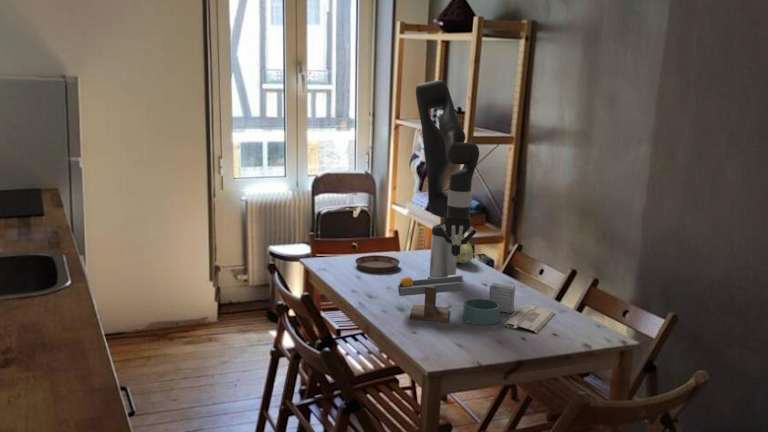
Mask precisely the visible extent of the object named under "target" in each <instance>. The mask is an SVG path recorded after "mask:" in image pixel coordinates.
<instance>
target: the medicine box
mask: <svg viewBox="0 0 768 432" xmlns="http://www.w3.org/2000/svg"><path fill="white" fill-rule="evenodd" d="M515 294H516V285H513V284H506V283H499V282H492V283H491V285H490V286H489V295H488V299H490V300H492V301H495V302H498V303H499V305H500V313H504V312H507V313H506V314H513V313H514V311H515V310H514V309H515V308H514V307H515Z"/></svg>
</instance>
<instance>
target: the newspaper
mask: <svg viewBox="0 0 768 432" xmlns="http://www.w3.org/2000/svg"><path fill="white" fill-rule="evenodd" d="M554 314H555V315H556V312H554V311H553V310H550V309H547V308H543V307H540V306H537V305H536V306H535V305H531V304H525V305H524V306H521V305H519V306H518V307H517V308H516V309H515V310H514V311H513V312H512V313H511V315H510V316H509V317H508V319H509V320H508V319H507V320H508V321H506V322H505V323H504V324H503V327H505V326H507V327H506V328H510V327H511V328H510V329H513V327H514V325H516V326H519V327H520V328H522V329H523V328H524V329H527V330H530V331H533V332H534V333H535V334H538V333H539V332H540V331H541V329H543V328H544V327H545V325H546V324H547V323H548V322H549V321H550V320H551V319H552V318H553V317H554V316H555V315H554ZM539 330H540V331H539ZM538 331H539V332H538Z"/></svg>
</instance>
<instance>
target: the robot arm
mask: <svg viewBox="0 0 768 432" xmlns="http://www.w3.org/2000/svg"><path fill="white" fill-rule="evenodd" d="M415 97H416V98H415V99H416V105H417V108H418V115H419V119H420V126H421V133H422V145H423V154H424V159H425V168H426V176H427V196H428V197H427V198H428V199H427V201H428V208H429V211H430V213H431V214H432V215H434V216H438V217H442V218H444V220H443V222H442V223H438V224H435V225H433V226H432V229H431V242H430V243H431V244H430V246H431V247H430V262H429V277H437V278H443V277H448V275H457V274H456V273H457V263H456V262H457V256H458V255H459V254H460V247H461V245H462V244H466V243H467V242H470V240H471V239H472V238H473V237H474V236H475V234H477V229H476V228H474V227H473V226H472V224H471V223H472V222H471V221H470V220H471V217H470V216H471V209H472V208H471V206H472V185H473V184H472V183H473V182H472V180H473V176H474V173H475V171H476V167H477V164H478V162H479V158H480V149H479V147H478V145H477V144H476V143H475V142H465V141H466V133H465V131H464V128H463V127H462V125H461V123H460V121H459V119H458V117H457V113H456V110H455V109H456V108H455V105H454V102H453V99H452V96H451V93H450V89H449V87H448V85H447V83H446V82H445V81H444V80H442V79H437V80H431V81H428V82H423V83H418V84H417V85H416V87H415ZM441 107H443V111H442V113H441V115H440V119H439V122H438V126H437V124H435V122H434V121H433V119H432V117H431V115H430V110H432V109H438V108H441ZM449 164H451V165H463V167H461V169H459V170H457V171H453V172H451V173H450V176H449V187H448V189H449V190H448V191H447V192H446V191H443V188H442V187H443V186H442V180H443V176H444V174H445V172H446V171H447V169H448V167H449ZM467 231H468V234H467V235H466V236H465V237H463V235H465V234H466V232H467ZM456 235H458V241H457V244H456ZM462 237H463V238H464V239H463V240H461V239H462Z"/></svg>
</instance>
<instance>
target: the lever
mask: <svg viewBox="0 0 768 432" xmlns="http://www.w3.org/2000/svg"><path fill="white" fill-rule="evenodd" d="M402 279H403V278H402V277H401V278H400V279H399V282H398V285H397V289H398V290H397V291H398V296H399V297H405V296H416V295H425V287H426V286H434V287H435V293H436V294H437V293H438V294H439V293H449V292H461V291H463V283H464V275H463V273H462V274H456V275H448V277H443V278H432V279H428V278H425V279H424V278H423V279H412V280H413V286H412V287H406V288H403V287H402V286H401V280H402Z"/></svg>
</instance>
